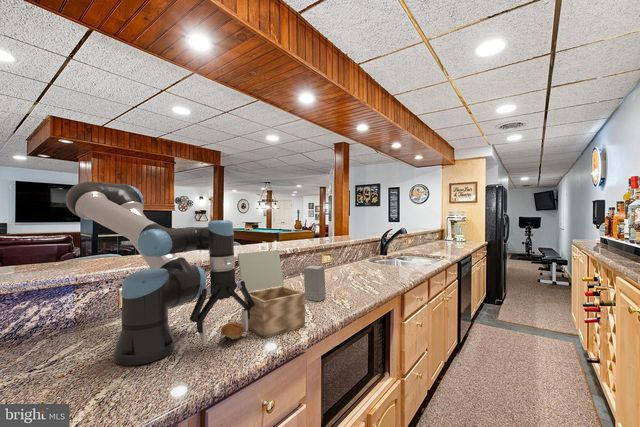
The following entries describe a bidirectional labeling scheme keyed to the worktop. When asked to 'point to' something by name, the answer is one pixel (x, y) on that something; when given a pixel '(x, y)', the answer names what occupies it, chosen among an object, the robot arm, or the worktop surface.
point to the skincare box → (314, 283)
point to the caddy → (276, 311)
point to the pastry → (232, 330)
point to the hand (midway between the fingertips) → (225, 335)
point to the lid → (260, 270)
